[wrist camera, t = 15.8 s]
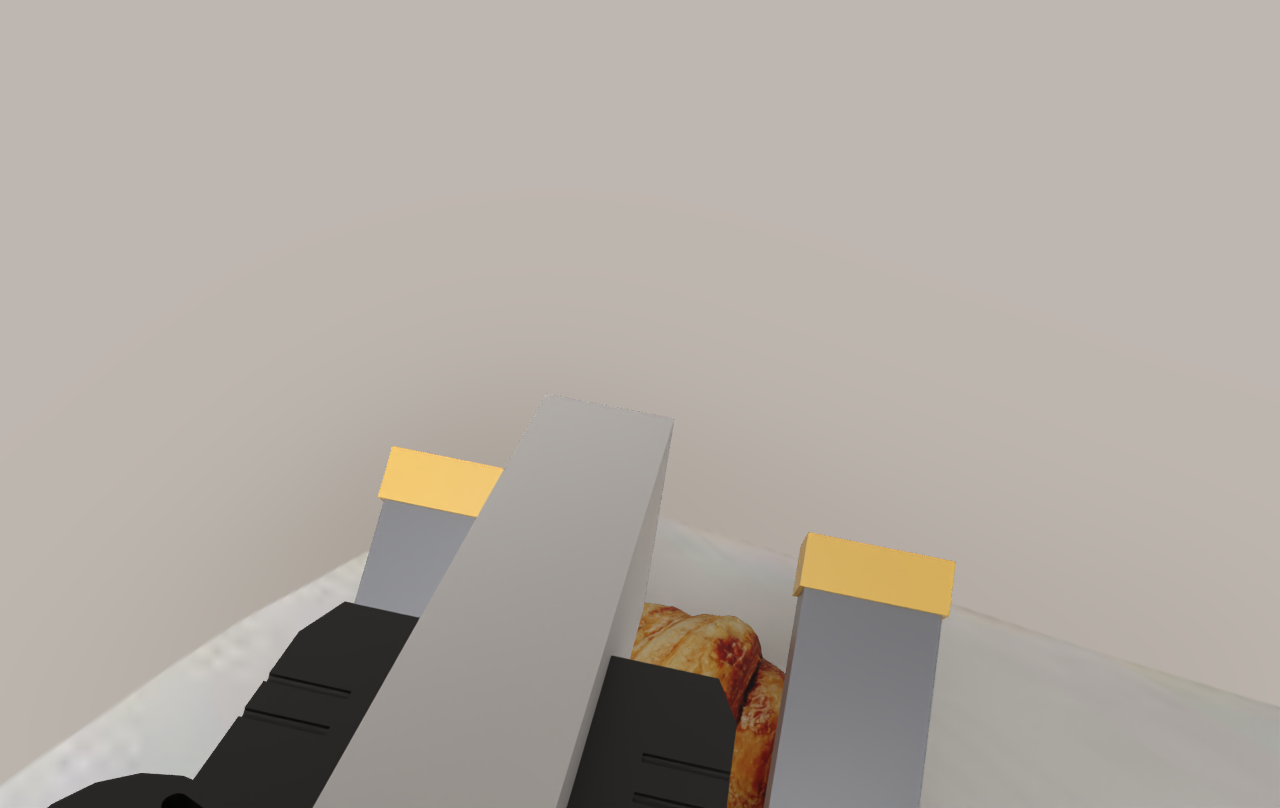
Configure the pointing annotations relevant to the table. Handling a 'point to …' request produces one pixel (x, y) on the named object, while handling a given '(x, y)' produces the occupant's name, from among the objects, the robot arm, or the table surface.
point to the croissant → (743, 676)
